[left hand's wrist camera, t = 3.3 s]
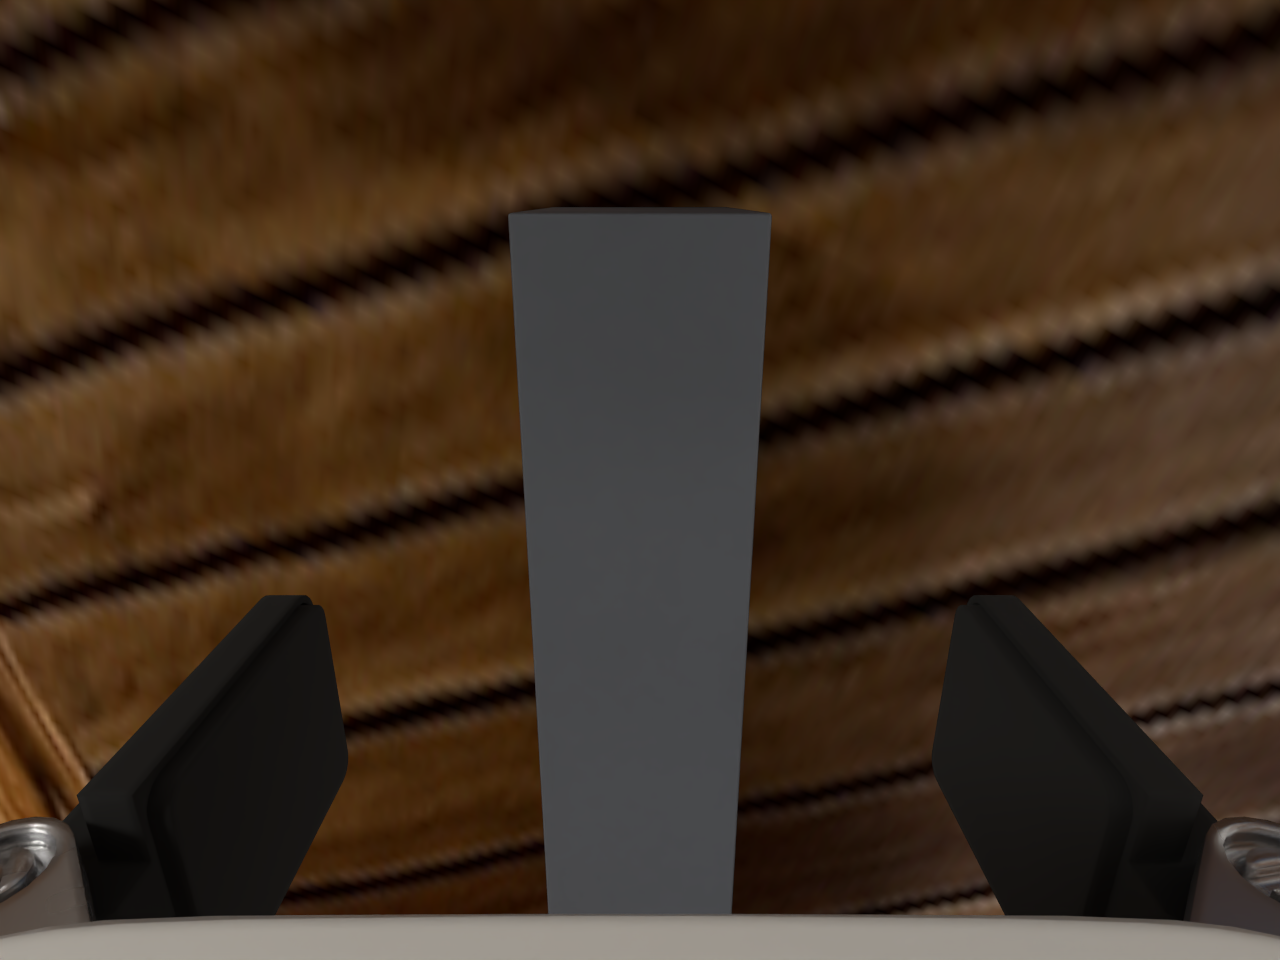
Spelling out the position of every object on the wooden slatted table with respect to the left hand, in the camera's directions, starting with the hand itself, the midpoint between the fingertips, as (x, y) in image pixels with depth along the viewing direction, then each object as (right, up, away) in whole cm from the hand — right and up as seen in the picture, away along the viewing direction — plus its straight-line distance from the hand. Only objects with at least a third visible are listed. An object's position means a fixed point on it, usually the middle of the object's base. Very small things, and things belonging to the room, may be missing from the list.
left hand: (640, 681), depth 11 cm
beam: (0, -25, +28) cm, 37 cm away
